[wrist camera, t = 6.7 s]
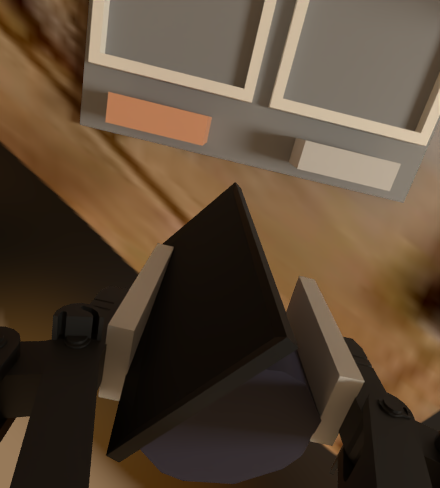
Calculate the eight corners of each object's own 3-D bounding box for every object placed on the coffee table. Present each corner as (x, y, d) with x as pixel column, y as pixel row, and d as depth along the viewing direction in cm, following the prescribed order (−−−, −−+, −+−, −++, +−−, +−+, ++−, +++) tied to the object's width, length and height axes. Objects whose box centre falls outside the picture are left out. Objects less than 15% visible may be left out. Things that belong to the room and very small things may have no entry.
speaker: (127, 222, 16) (22, 404, 7) (238, 180, 16) (288, 318, 6) (188, 335, 19) (171, 566, 10) (282, 304, 19) (360, 521, 9)
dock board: (108, -155, 22) (73, -233, 17) (501, -46, 23) (572, -90, 18) (86, 124, 28) (54, 124, 24) (397, 199, 30) (429, 215, 25)
